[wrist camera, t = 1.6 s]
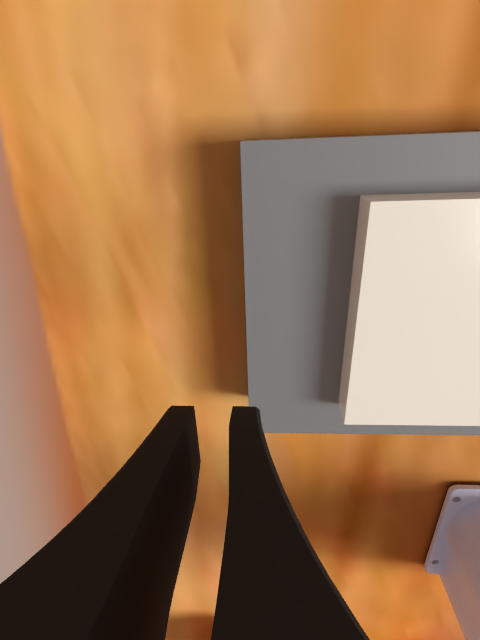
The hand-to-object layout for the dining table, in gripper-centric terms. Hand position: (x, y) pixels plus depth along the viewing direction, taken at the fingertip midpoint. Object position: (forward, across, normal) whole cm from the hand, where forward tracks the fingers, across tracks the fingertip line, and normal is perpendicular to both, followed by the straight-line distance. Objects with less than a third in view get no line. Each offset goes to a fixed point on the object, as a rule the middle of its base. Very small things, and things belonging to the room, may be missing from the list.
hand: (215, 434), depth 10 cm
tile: (+7, -8, 0) cm, 11 cm away
